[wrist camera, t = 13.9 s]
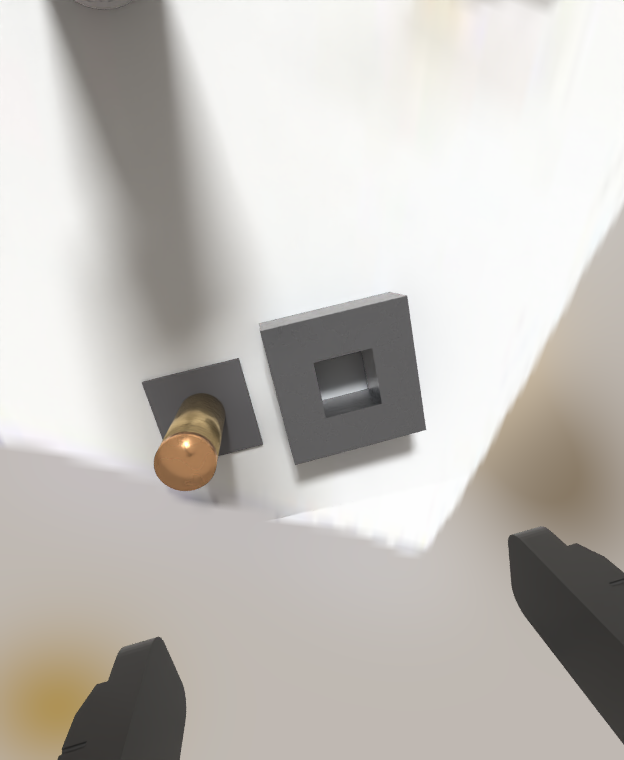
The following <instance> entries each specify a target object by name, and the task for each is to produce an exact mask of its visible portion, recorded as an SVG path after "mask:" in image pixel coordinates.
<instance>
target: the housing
mask: <svg viewBox="0 0 624 760" xmlns="http://www.w3.org/2000/svg"><path fill="white" fill-rule="evenodd" d="M259 325H260V333H261V337H262V340H263V344H264V348H265V352H266V356H267V359H268V363H269V367H270V371H271V375H272V379H273V382H274V386H275V390H276V394H277V398H278V402H279V405H280V409H281V413H282V417H283V421H284V425H285V428H286V432H287V436H288V440H289V444H290V447H291V451H292V455H293V459H294V463H295V465H297V464H300V463H304V462H308V461H312V460H315V459H319V458H323V457H327V456H330V455H334V454H338V453H341V452H345V451H349V450H353V449H356V448H360V447H364V446H368V445H371V444H375V443H379V442H382V441H386V440H390V439H394V438H397V437H401V436H405V435H409V434H412V433H416V432H420V431H424V430H426V426H425V419H424V412H423V405H422V398H421V391H420V384H419V377H418V370H417V363H416V356H415V349H414V342H413V334H412V327H411V320H410V313H409V306H408V299H407V296H406V295H401V294H396V293H391V292H388V293H384V294H380V295H376V296H371V297H367V298H363V299H359V300H355V301H351V302H347V303H342V304H338V305H334V306H330V307H326V308H322V309H317V310H313V311H309V312H305V313H301V314H297V315H292V316H288V317H284V318H280V319H276V320H272V321H267V322H263V323H259ZM359 351H361V352H362V358H363V363H364V369H365V374H366V379H367V385H368V389H365V390H361V391H358V392H354V393H350V394H346V395H342V396H338V397H334V398H330V399H327V400H323V401H322V399H321V394H320V390H319V385H318V381H317V376H316V372H315V367H314V363H315V362H319V361H323V360H327V359H331V358H335V357H339V356H343V355H347V354H351V353H355V352H359Z"/></svg>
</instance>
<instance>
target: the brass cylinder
mask: <svg viewBox="0 0 624 760" xmlns="http://www.w3.org/2000/svg"><path fill="white" fill-rule="evenodd" d="M225 415H226V414H225V409H224V406H223V404H222V403H221V402H220V401H219V400H218V399H217V398H216V397H214V396H212V395H210V394H205V393H198V394H194V395H191V396H189V397H188V398H187V399H185V400H184V401H183V403H182V404H181V406H180V408H179V410H178V412H177V414H176V416H175V418H174V420H173V422H172V424H171V426H170V427H169V429H168V431H167V433H166V435H165V437H164V439H163V441H162V443H161V445H160V447H159V449H158V451H157V453H156V455H155V458H154V469H155V472H156V474H157V476H158V478H159V479H160V480H161V481H162V482H163V483H164V484H165V485H167V486H168V487H170V488H173V489H175V490H180V491H191V490H195V489H198V488H200V487H202V486H204V485H205V484H207V483H208V482H209V481H210V480H211V478H212V477H213V475H214V473H215V470H216V465H217V459H218V454H219V449H220V443H221V438H222V433H223V427H224V422H225Z"/></svg>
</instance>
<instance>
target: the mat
mask: <svg viewBox="0 0 624 760" xmlns="http://www.w3.org/2000/svg"><path fill="white" fill-rule="evenodd" d="M142 384H143V387H144V390H145V393H146V395H147V398H148V401H149V403H150V406H151V409H152V411H153V414H154V417H155V420H156V422H157V425H158V428H159V430H160V433H161V436H162V439H164V437H165V435H166V433H167V431H168V429H169V427H170V426H171V424H172V422H173V420H174V418H175V416H176V414H177V412H178V410H179V408H180V406H181V404H182V403H183V401H184V400H185V399H187V398H188V397H189V396H191V395H194V394H198V393H205V394H210V395H212V396H214V397H216V398H217V399H218V400H219V401H220V402H221V403H222V404H223V406H224V409H225V414H226V415H225V422H224V427H223V433H222V438H221V443H220V449H219V454H218V456H220V455H224V454H228V453H231V452H235V451H239V450H243V449H247V448H250V447H254V446H258V445H262V444H263V442H262V439H261V435H260V432H259V428H258V425H257V421H256V418H255V414H254V411H253V407H252V404H251V400H250V397H249V393H248V390H247V386H246V383H245V379H244V376H243V372H242V368H241V365H240V361H239V358H237V359H233V360H229V361H225V362H221V363H217V364H213V365H209V366H205V367H201V368H197V369H192V370H188V371H184V372H180V373H176V374H172V375H168V376H164V377H160V378H156V379H152V380H148V381H144V382H142Z"/></svg>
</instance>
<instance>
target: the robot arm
mask: <svg viewBox="0 0 624 760" xmlns="http://www.w3.org/2000/svg"><path fill="white" fill-rule="evenodd" d="M74 1H75V2H78V3H80V4H82V5H85V6H87V7H90V8H96V9H115V8H118V7H121V6H124V5H126V4H128V3H129V2H131V1H132V0H74ZM508 547H509V559H510V572H511V584H512V590H513V593H514V596H515V599H516V601H517V603H518V605H519V607H520V609H521V611H522V612H523V614H524V615H525V617H526V618H527V620H528V621H529V622H530V624H531V625H532V626H533V627H534V629H535V630H536V631H537V632H538V634H539V635H540V636H541V638H542V639H543V640H544V642H545V643H546V644H547V645H548V647H549V648H550V649H551V651H552V652H553V653H554V655H555V656H556V657H557V658H558V660H559V661H560V662H561V664H562V665H563V666H564V668H565V669H566V670H567V671H568V673H569V674H570V675H571V677H572V678H573V679H574V681H575V682H576V683H577V684H578V686H579V687H580V688H581V690H582V691H583V692H584V693H585V695H586V696H587V697H588V699H589V700H590V701H591V703H592V704H593V705H594V706H595V708H596V709H597V710H598V712H599V713H600V714H601V716H602V717H603V718H604V719H605V721H606V722H607V723H608V725H609V726H610V727H611V729H612V730H613V731H614V732H615V734H616V735H617V736H618V738H619V739H620V740H621V741H622V743H623V744H624V573H623V572H622V571H621V570H620V569H619V568H617V567H616V566H615V565H614V564H613V563H611V562H610V561H609V560H608V559H607V558H605V557H604V556H602V555H600V554H597V553H596V552H593V551H591V550H589V549H587V548H585V547H583V546H581V545H579V544H577V543H576V544H573V545H569V546H567V545H566V544H564V543H563V542H562V541H561V540H560V539H559V538H558V537H557V536H556V535H554V534H553V533H552V532H551V531H550V530H549V529H547V528H546V527H541V526H540V527H537V528H534V529H530V530H527V531H524V532H520V533H517V534H513V535H510V536H509V539H508ZM185 719H186V698H185V691H184V687H183V684H182V681H181V679H180V677H179V675H178V673H177V671H176V668H175V666H174V664H173V661H172V659H171V657H170V655H169V652H168V650H167V648H166V646H165V643H164V641H163V640H162V639H161V638H160V637H156V638H153V639H149V640H146V641H142V642H139V643H135V644H132V645H129V646H125V647H123V648H121V650H120V651H119V653H118V655H117V657H116V660H115V663H114V666H113V668H112V671H111V674H110V677H109V680H108V681H107V682H104V683H100V684H97V685H96V686H95V687H94V689H93V690H92V692H91V693H90V695H89V696H88V697H87V699H86V700H85V702H84V703H83V705H82V706H81V708H80V709H79V710H78V712H77V713H76V715H75V717H74V719H73V722H72V724H71V727H70V729H69V732H68V735H67V737H66V740H65V742H64V745H63V747H62V755H60V756H59V757H58V760H180V752H181V746H182V740H183V733H184V726H185Z"/></svg>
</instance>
